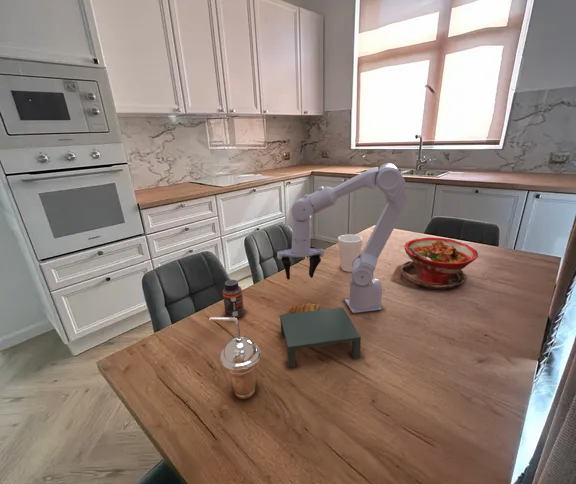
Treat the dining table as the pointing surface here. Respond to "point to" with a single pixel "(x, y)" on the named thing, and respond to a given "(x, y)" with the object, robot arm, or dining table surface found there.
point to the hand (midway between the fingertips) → (299, 277)
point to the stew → (434, 263)
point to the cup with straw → (240, 361)
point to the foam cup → (349, 250)
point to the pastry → (304, 308)
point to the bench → (318, 330)
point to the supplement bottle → (233, 299)
